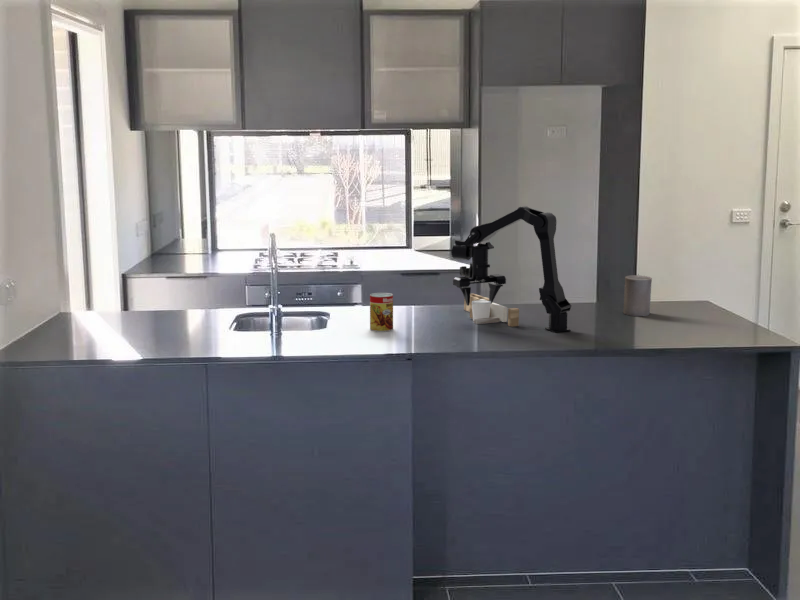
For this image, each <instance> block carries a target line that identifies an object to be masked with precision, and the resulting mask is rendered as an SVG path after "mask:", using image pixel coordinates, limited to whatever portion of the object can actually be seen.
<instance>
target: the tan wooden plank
mask: <svg viewBox="0 0 800 600" xmlns="http://www.w3.org/2000/svg"><path fill="white" fill-rule="evenodd" d="M480 299H484V300H487V301H489V297H485V296H484V295H479V294H476V293H470V303H469V306H468V305H467V304H466V301H465V298H464V297H463V310H464V311H466V312H469V313H470V308H472V301H475V300H480ZM519 319H520V308H517V307H511V308H507V326H509V327H511V328H512V327H513V328H514V327H519V325H520V320H519ZM495 323H500V321H499V318H498V317H494V318H491V317H489V318H483V319H474V321H473V324H475V325H482V324H483V325H484V324H495Z"/></svg>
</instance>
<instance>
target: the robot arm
mask: <svg viewBox="0 0 800 600" xmlns="http://www.w3.org/2000/svg"><path fill="white" fill-rule="evenodd" d="M520 221H524V222H525V223H527V224H528V225H531V226H532V227H533V230H534V232H535V235H536V237H537V238H538V240H539V246H540V255H541V262H542V264H541V265H542V272H543V274H542V275H543V286H542V287H539V288H538V291H539V301H541V304H542V305H543V306H544V309H545V311H546V314H548V326H547V327H544V329H545V330H547V331H550V332H553V333H560V332H561V333H564V332H571V330H572V329H571V328H568V312H570V311H571V310H572V304H571V303H570V302H569V300H568V299H566V295H565V292H564V289H563V288H564V287H563V286H562V285H561V282H560V280H559V276H558V268H557V267H558V266H557V259H556V258H557V257H556V250H555V249H556V247H555V241H554V240H555V236H556V231H557V218H556V215H555V214H553V213H552V212H543V211H541V210H537V209H533V208H531V207H528V206H526V205H524V206H518V208H516V209H514V210H513V211H511V212H508V213H507V214H505V215H502V216H500V217H498V218H497V219H495V220H493V221H490V222H487V223H483V224H480V225H476V226H473V227H471V229H470V231H469V235H468V236H467V237H466V239H465V240H462V239H456V240H455V241H454V244H453V246H452V248H451V257H452V258H453V259H455V260H463V261H465V260H466V261H469V260H471V263H470V264H469V267H467V266H466V265H465V266H460V267H459V275H460V276H455V277H454V278H453V280H452V285H453V286H456V287H457V288H458V289H460V290H461V293H462V294H463V299H464V298H465V301H466V304H467V305H468V306H469V303H470V294H471V291H472V289H471V288H472V287H471V286H470V285H471V284H473V285H474V284H485V283H488V287H489V295H488V296H489V297H488V298H489V301H490V302H491V304H492V302H493V301H494V300H495V298H496V296H497V294H498V292H499V290H500V289H501V287H504V285H506V284H507V277H506V276H505V275H502V274H499V273H495V274H490V275H489V268H491V264H490V263H489V250H492V249H493V250H494V249H495V246H494V245H493V244H491V242H490V241H489V240H490V239H492V238H493V237H495V235H497V233H498V232H500V231H502V230H504V229H506V228H508V227H510V226H512V225H514V224H516V223H518V222H520ZM487 241H488V242H487ZM483 242H485V243H483ZM493 303H494V302H493Z"/></svg>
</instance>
